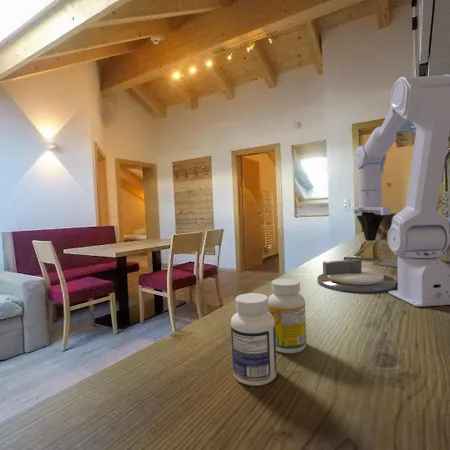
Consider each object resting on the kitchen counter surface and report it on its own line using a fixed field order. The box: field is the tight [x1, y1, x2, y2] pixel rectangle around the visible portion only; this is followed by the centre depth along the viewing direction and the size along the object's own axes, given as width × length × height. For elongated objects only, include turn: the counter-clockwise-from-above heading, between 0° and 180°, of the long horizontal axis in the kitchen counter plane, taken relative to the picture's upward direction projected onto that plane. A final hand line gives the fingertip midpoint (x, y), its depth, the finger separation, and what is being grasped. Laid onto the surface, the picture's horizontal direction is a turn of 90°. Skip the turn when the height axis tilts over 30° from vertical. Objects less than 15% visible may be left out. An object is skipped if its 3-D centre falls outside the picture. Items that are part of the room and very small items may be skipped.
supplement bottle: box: [267, 278, 307, 354], centre depth 46 cm, size 5×5×10 cm
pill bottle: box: [230, 292, 278, 387], centre depth 38 cm, size 5×5×10 cm
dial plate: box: [317, 273, 397, 294], centre depth 78 cm, size 18×18×1 cm
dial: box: [322, 258, 385, 285], centre depth 78 cm, size 14×13×5 cm
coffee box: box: [372, 212, 398, 268], centre depth 97 cm, size 9×6×16 cm
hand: (370, 240), depth 86 cm, fingers closed
